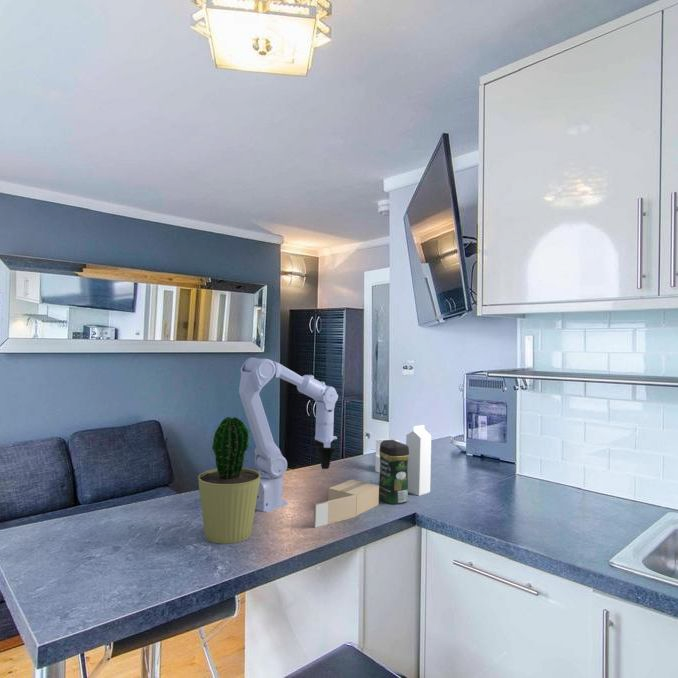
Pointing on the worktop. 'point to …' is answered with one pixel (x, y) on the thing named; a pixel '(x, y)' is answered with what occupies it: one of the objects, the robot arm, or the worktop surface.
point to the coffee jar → (393, 472)
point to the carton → (357, 494)
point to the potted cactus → (229, 486)
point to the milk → (419, 460)
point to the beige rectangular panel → (334, 510)
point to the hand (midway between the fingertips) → (323, 465)
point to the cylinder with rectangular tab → (377, 462)
